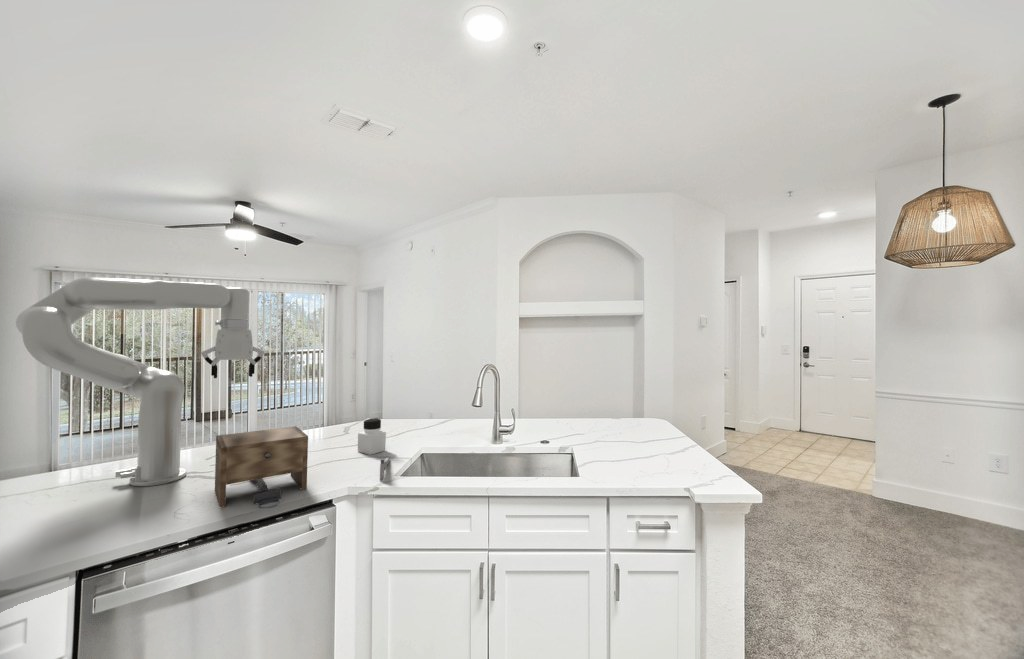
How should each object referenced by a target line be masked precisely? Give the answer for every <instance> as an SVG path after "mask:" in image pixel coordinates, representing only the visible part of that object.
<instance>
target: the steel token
mask: <svg viewBox="0 0 1024 659" xmlns="http://www.w3.org/2000/svg"><path fill="white" fill-rule="evenodd" d="M279 500H280V499H274V498H272V499H266V500H263V501H261V502H259V503H258V508H260V509H271V508H274V507H276V506H278V505H279V503H280V501H279Z"/></svg>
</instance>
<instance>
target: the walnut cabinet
mask: <svg viewBox="0 0 1024 659" xmlns="http://www.w3.org/2000/svg"><path fill="white" fill-rule="evenodd" d="M308 451H309V435H308V434H306V433H305V432H304V431H303V430H301V429H300V427H298V426H289V427H278V428H271V429H269V428H268V429H262V430H254V431H253V430H252V431H244V432H236V433H235V432H234V433H228V434H221V435H220V434H219V435H215V462H214V463H215V467H214V468H215V469H214V470H215V472H214V473H215V474H214V493H215V492H216V493H215V496H217V497H216V500H217V502H218V503H219V504H218V507H221V508H225V507H226V501H227V499H226V498H227V497H226V496H227V494H226V493H227V491H226V489H227V485H233V484H237V483H244V482H249V481H250V482H251V481H254V480H255V479H261V478H262V479H265V478H271V477H277V476H282V475H283V476H284V475H286V474H290V477H291V479H292V480H293V481H294V483H295V484H296V485H297V486H298V487H299V489H300V490H301V491H306V490H307V488H308V455H309V454H308V453H309V452H308Z"/></svg>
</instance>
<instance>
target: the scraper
mask: <svg viewBox="0 0 1024 659" xmlns="http://www.w3.org/2000/svg"><path fill="white" fill-rule="evenodd" d="M253 481H254V483H255V485H256V484H257V485H256V487H257V486H258V487H257V488H259V489H258V490H260V491H259V492H254V493H253V505H257V504H256V503H258V504H259V502H261V501H263V500H266V499H272V498H274V499H278V500H280V499H282V498H281V494H282V490H281V487H279V488H273V489H269V487H268V486H267V484H266V482H265V480H264V478H261V479H255V480H253Z"/></svg>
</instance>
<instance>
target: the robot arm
mask: <svg viewBox="0 0 1024 659" xmlns="http://www.w3.org/2000/svg"><path fill="white" fill-rule="evenodd" d="M249 301H250V292H249V290H248V289H247V288H245V287H235V286H234V287H232V286H228V287H227V286H224V285H222V284H218V283H208V282H207V283H206V282H205V283H204V282H187V281H185V282H184V281H167V280H157V279H155V280H154V279H135V278H134V279H133V278H120V277H119V278H117V277H115V278H114V277H95V276H92V277H91V276H90V277H88V276H87V277H81V278H76V279H73V280H71V281H69V282H68V283H66V284H64V286H62V287H60V288H59V289H57V290H56V291H54V292H52V293H50V294H49V295H47V296H46V297H44V298H43V299H40V300H39V301H38V302H36V303H34V304H32V305H30V306H29V307H28V308H26V309H24V310H23V311H21V312H20V313H19V314H18V316H17V317H16V319H15V325H16V326H15V327H16V329H17V330H18V332H19V333H20V334H21V335H22V342H23V344H24V347H25V348H26V350H27V351H28V353H29V354H30V355H31V357H33V358H34V360H36V361H37V362H38V363H40V364H42V365H44V366H46V367H48V368H50V369H53V370H56V371H58V372H61V373H64V374H67V375H69V376H73V377H75V378H79V379H81V380H85V381H88V382H91V383H93V384H95V385H97V386H99V387H102V388H105V389H109V390H112V391H116V392H119V393H122V394H126V395H129V396H132V397H135V398H138V399H140V404H139V411H138V419H137V420H138V421H137V422H138V423H137V424H138V425H137V427H138V429H137V460H136V461H137V462H136V464H135V466H133V467H130V468H127V469H118V470H115V478H120V479H124V478H129V484H130V485H131V486H134V487H151V486H159V485H163V484H168V483H172V482H177V481H178V480H180V479H183V478H184V477H185V476H186V475H187V469H185V468H184V467H181V438H182V435H181V434H182V410H183V409H182V408H183V401H184V396H185V384H184V381H183V379H182V378H181V377H180V376H179V374H176V373H175V372H174V371H173V372H172V371H170V370H167V369H166V370H165V369H160V368H158V367H154V366H152V365H149V364H145V363H143V362H140V361H137V360H135V359H133V358H131V357H130V356H127V355H124V354H120V353H115V352H112V351H109V350H106V349H103V348H101V347H97V346H95V345H93V344H90V343H88V342H87V341H86V342H85V341H83V340H80V339H79V338H78V337H77V336H75V334H74V333H73V331H72V325H74V324H75V323H77V322H78V321H79V320H81V319H82V318H84V317H85V316H87V315H88V314H89V313H91V312H93V311H94V310H114V311H115V310H119V311H120V310H126V311H127V310H131V311H132V310H134V311H135V310H136V311H137V310H140V311H141V310H142V311H143V310H145V311H146V310H147V311H148V310H149V311H150V310H153V311H155V310H157V311H158V310H160V311H161V310H169V309H206V310H207V309H220V319H219V320H215V322H214V323H215V324H214V325H215V326H219V327H220V328H218V329H217V331H216V332H217V333H216V338H215V344H214V346H213V347H212V346H211V347H210V348H208V349H205V350H203V351H201V352H200V354H201V356H202V357H203V359H204V360H205V361H206V362H207V363H208V365H209V364H210V365H211V366H210V368H211V369H210V370H211V371H210V372H211V373H210V374H211V377H213V379H217V378H218V363H219V362H220V361H232V360H234V361H236V360H237V361H238V360H239V361H240V360H243V361H244V360H247V361H248V362H249V363H248V377H250V378H251V377H253V375H255V371H256V370H255V365H256V364H257V363H258V362H259V361H260V360H261V359H262V357H263V356H264V355H265V351H264V350H262V349H260V348H258V347H255V346H254V345H253V334H252V329H249V305H250V304H249V303H250V302H249ZM254 352H255V353H257V356H256V357H255V358H253V354H254ZM210 353H214V356H215V357H214V358H213V359H211V358H210V357H209V354H210Z"/></svg>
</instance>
